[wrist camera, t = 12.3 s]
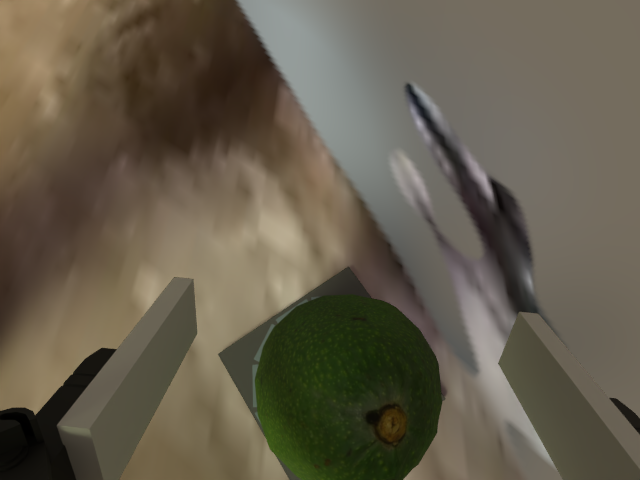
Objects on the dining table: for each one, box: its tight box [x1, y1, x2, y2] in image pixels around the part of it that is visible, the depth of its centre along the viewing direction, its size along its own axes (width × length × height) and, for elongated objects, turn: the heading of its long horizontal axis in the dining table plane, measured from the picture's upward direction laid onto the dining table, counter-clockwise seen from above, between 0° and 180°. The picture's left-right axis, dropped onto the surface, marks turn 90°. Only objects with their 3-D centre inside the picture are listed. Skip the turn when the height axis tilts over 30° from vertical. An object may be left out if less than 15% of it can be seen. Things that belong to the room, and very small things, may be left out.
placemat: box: [218, 266, 445, 480], centre depth 24 cm, size 11×11×1 cm
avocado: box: [255, 294, 442, 480], centre depth 15 cm, size 8×8×12 cm
